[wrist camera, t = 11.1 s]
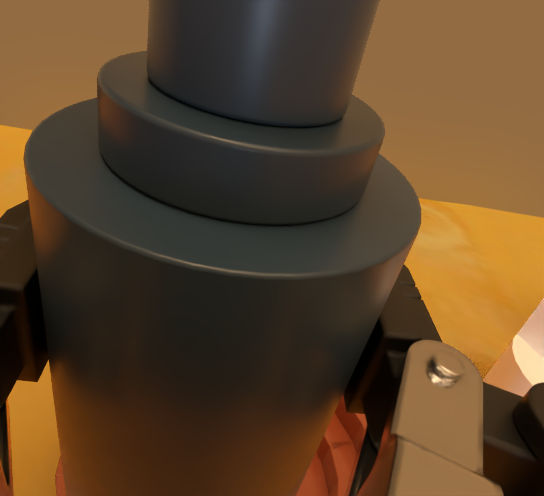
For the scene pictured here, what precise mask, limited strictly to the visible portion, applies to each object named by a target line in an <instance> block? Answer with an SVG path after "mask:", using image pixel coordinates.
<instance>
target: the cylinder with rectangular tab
mask: <svg viewBox="0 0 544 496" xmlns="http://www.w3.org/2000/svg"><path fill="white" fill-rule="evenodd" d="M482 381H483V382H485V383H487V384H490V385H493V386H495V387H498V388H501V389H503V390H506V391H509V392H511V393H514V394H517V395H519V396H522V397H523V396H524V395H525V394H526V393H527V392H528V390H529V389H530V388H531V387H532V386H533V385H535V384H537V383H544V298H543V300H542V301H541V302H540V304H539V305H538V307H537V308H536V309H535V311H534V312H533V313H532V315H531V316H530V317H529V319H528V320H527V321H526V323H525V324H524V325H523V327H522V328H521V329H520V331H519V332H518V333H517V335H516V336H515V337H514V339H513V340H512V341H511V343H510V344H509V345H508V347H507V348H506V349H505V351H504V352H503V353H502V355H501V356H500V357H499V359H498V360H497V361H496V363H495V364H494V365H493V367H492V368H491V369H490V371H489V372H488V373H487V375H486V376H485V378H484V379H483V380H482Z"/></svg>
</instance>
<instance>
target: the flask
mask: <svg viewBox="0 0 544 496" xmlns="http://www.w3.org/2000/svg"><path fill="white" fill-rule="evenodd" d="M379 1H380V0H149V20H148V44H147V47H148V48H147V51H142V52H136V53H130V54H126V55H122V56H118V57H116V58H113V59H111V60H109V61H108V62H106V63H105V64H104V65H103V66H102V67H101V69H100V71H99V73H98V77H97V98H94V99H90V100H86V101H82V102H79V103H76V104H73V105H71V106H68V107H65V108H64V109H61V110H59V111H57V112H55V113H53V114H52V115H50V116H49V117H47V118H46V119H45V120H43V121H42V122H41V123H40V124H39V125H38V126H37V127H36V128H35V129H34V130H33V131H32V133H31V135H30V137H29V139H28V141H27V143H26V146H25V152H24V166H25V174H26V182H27V190H28V198H29V206H30V214H31V222H32V230H33V238H34V246H35V254H36V262H37V270H38V278H39V285H40V293H41V301H42V309H43V317H44V325H45V333H46V341H47V349H48V357H49V365H50V373H51V381H52V389H53V397H54V405H55V413H56V420H57V428H58V436H59V444H60V452H61V460H62V468H63V476H64V484H65V492H66V496H296V494H297V492H298V490H299V488H300V486H301V484H302V481H303V479H304V477H305V475H306V473H307V471H308V468H309V466H310V464H311V462H312V460H313V458H314V456H315V453H316V451H317V449H318V447H319V445H320V443H321V441H322V438H323V436H324V434H325V432H326V430H327V428H328V425H329V423H330V421H331V419H332V417H333V415H334V413H335V410H336V408H337V406H338V404H339V402H340V400H341V398H342V395H343V393H344V391H345V389H346V387H347V385H348V382H349V380H350V378H351V376H352V374H353V372H354V370H355V367H356V365H357V363H358V361H359V359H360V357H361V355H362V352H363V350H364V348H365V346H366V344H367V342H368V339H369V337H370V335H371V333H372V331H373V329H374V327H375V324H376V322H377V320H378V318H379V316H380V314H381V312H382V309H383V307H384V305H385V303H386V301H387V299H388V296H389V294H390V292H391V290H392V288H393V286H394V284H395V281H396V279H397V277H398V275H399V273H400V271H401V269H402V266H403V264H404V262H405V260H406V258H407V256H408V253H409V251H410V249H411V247H412V245H413V243H414V241H415V238H416V236H417V234H418V231H419V228H420V225H421V207H420V203H419V199H418V197H417V195H416V193H415V191H414V189H413V187H412V186H411V184H410V183H409V181H408V180H407V179H406V178H405V176H404V175H403V174H402V173H401V172H400V171H399V170H398V169H397V168H396V167H395V166H394V165H393V164H391V163H390V162H389V161H388V160H386V159H385V158H384V157H383V156H381V155H380V154H379V150H380V148H381V145H382V142H383V139H384V136H385V128H384V123H383V121H382V119H381V117H380V116H379V115H378V114H377V113H376V112H375V111H374V110H373V109H372V108H371V107H370V106H368V105H367V104H366V103H364V102H363V101H361V100H360V99H358V98H357V97H355V96H353V95H352V91H353V88H354V84H355V81H356V78H357V74H358V71H359V68H360V64H361V61H362V57H363V54H364V51H365V48H366V44H367V41H368V37H369V34H370V31H371V28H372V24H373V20H374V17H375V14H376V11H377V7H378V4H379Z"/></svg>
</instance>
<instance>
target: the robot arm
mask: <svg viewBox="0 0 544 496" xmlns="http://www.w3.org/2000/svg"><path fill="white" fill-rule="evenodd" d="M48 359H49V357H48V349H47V341H46V333H45V325H44V317H43V309H42V301H41V293H40V285H39V278H38V270H37V262H36V254H35V246H34V238H33V230H32V222H31V214H30V206H29V200H27V201H25V202H23V203H21V204H19V205H17V206H15V207H13V208H11V209H9V210H7V211H6V212H5V213H4V215H3V216H2V217H1V218H0V496H14V495H13V477H12V457H11V437H10V417H9V404H8V399H7V398H8V396H9V394H10V392H11V390H12V388H13V386H14V385H15V383H16V381H17V380H22V381H32V382H38V380H39V378H40V376H41V374H42V372H43V370H44V367H45V365H46V363H47V361H48ZM343 397H344V402H345V407H346V412H348V413H359V414H365V418H366V422H367V426H366V428H365V430H364V431H363V433H362V436H361V439H360V442H359V446H358V449H357V453H356V457H355V460H354V464H353V468H352V471H351V475H350V478H349V482H348V486H347V489H346V493H345V496H544V383H537V384H535V385H533V386H532V387H531V388H530V389H529V390H528V392H527V393H526V394H525V395H524V396H523V397H522V396H519V395H517V394H514V393H511V392H509V391H506V390H503V389H501V388H498V387H495V386H493V385H490V384H487V383H485V382H483V381H482V377H481V375H480V373H479V371H478V369H477V368H476V366H475V365H474V364H473V363H472V362H471V360H470V359H469V358H467V357H466V356H465V355H464V354H463V353H461V352H460V351H458V350H457V349H455V348H454V347H452V346H449V345H447V344H445V343H443V342H442V340H441V338H440V336H439V334H438V332H437V330H436V327H435V325H434V323H433V321H432V319H431V317H430V314H429V312H428V310H427V308H426V306H425V304H424V302H423V300H421V295H420V293H419V291H418V289H417V287H415V282H414V280H413V278H412V276H411V274H410V271H409V269H408V268H407V267H406V266H405V265H404V264H403V266H402V269H401V271H400V273H399V275H398V277H397V279H396V281H395V284H394V286H393V288H392V290H391V292H390V294H389V296H388V299H387V301H386V303H385V305H384V307H383V309H382V312H381V314H380V316H379V318H378V320H377V322H376V324H375V327H374V329H373V331H372V333H371V335H370V337H369V339H368V342H367V344H366V346H365V348H364V350H363V352H362V355H361V357H360V359H359V361H358V363H357V365H356V367H355V370H354V372H353V374H352V376H351V378H350V380H349V382H348V385H347V387H346V389H345V391H344V393H343Z"/></svg>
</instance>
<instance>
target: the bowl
mask: <svg viewBox="0 0 544 496" xmlns="http://www.w3.org/2000/svg"><path fill="white" fill-rule="evenodd" d="M366 426H367V422H366V418H365V414H359V413H348V412H346V407H345V402H344V397H343V395H342V398H341V400H340V402H339V404H338V406H337V408H336V410H335V413H334V415H333V417H332V419H331V421H330V423H329V425H328V428H327V430H326V432H325V434H324V436H323V438H322V441H321V443H320V445H319V447H318V449H317V451H316V453H315V456H314V458H313V460H312V462H311V464H310V466H309V468H308V471H307V473H306V475H305V477H304V479H303V481H302V484H301V486H300V488H299V490H298V492H297V494H296V496H345V493H346V489H347V486H348V482H349V478H350V475H351V471H352V468H353V464H354V460H355V457H356V453H357V449H358V446H359V442H360V439H361V436H362V433H363V431H364V430H365V428H366ZM55 483H56V494H57V496H66V492H65V484H64V476H63V468H62V460H61V456H60V459H59V463H58V467H57V471H56V475H55Z"/></svg>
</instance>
